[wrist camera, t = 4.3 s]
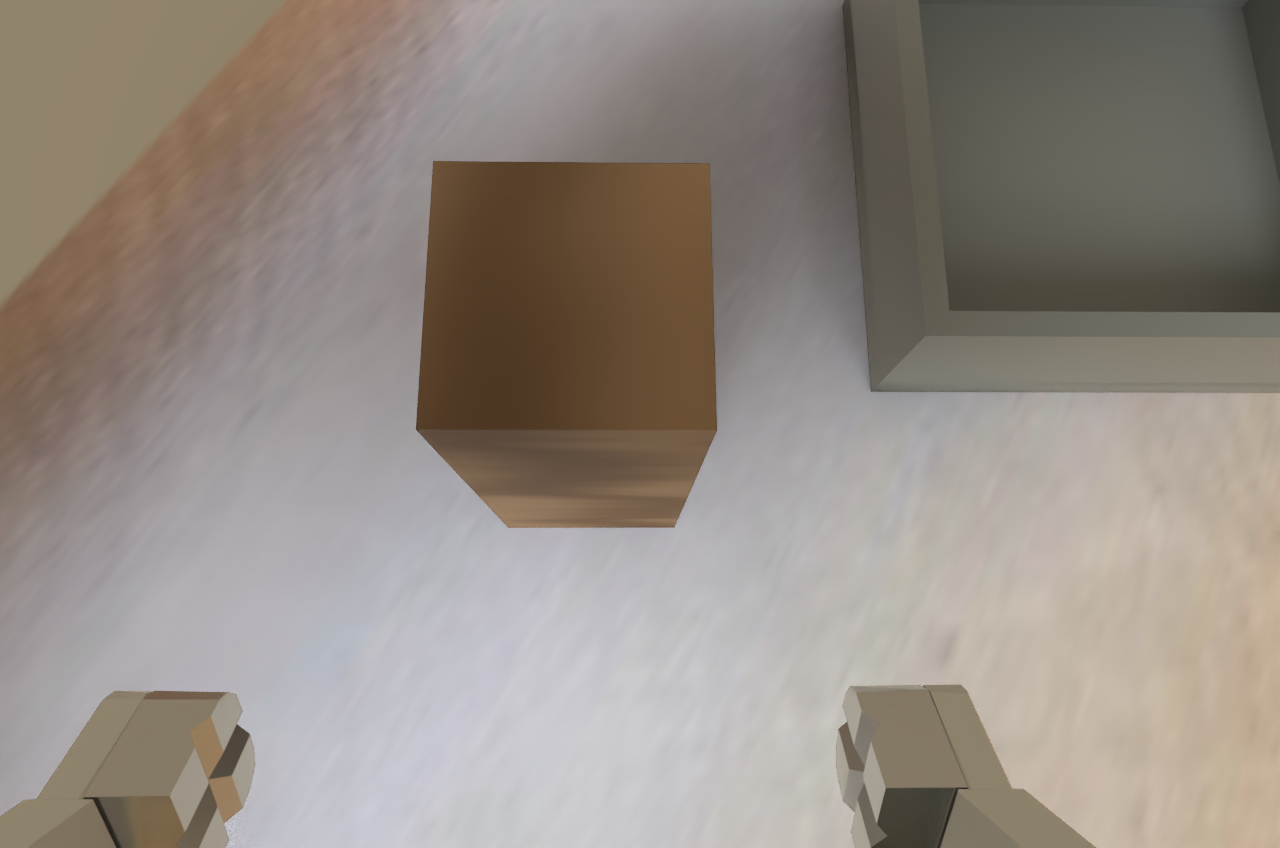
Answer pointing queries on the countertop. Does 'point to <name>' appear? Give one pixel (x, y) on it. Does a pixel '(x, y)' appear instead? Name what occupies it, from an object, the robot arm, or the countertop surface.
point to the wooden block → (570, 338)
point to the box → (1068, 193)
